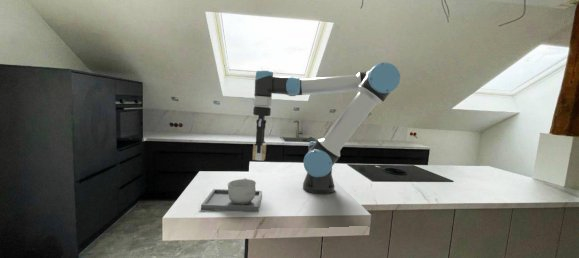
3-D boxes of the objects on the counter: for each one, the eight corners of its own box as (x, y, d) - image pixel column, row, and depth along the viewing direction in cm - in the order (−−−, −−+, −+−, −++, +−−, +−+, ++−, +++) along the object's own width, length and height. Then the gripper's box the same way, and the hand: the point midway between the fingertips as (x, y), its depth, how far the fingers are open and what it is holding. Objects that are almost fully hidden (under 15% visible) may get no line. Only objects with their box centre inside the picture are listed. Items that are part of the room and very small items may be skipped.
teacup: (249, 208, 97) (250, 187, 97) (222, 205, 99) (222, 184, 99) (260, 196, 111) (261, 178, 110) (236, 193, 113) (237, 175, 112)
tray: (261, 194, 114) (262, 190, 114) (258, 211, 97) (258, 206, 96) (213, 193, 114) (213, 189, 113) (200, 209, 96) (201, 204, 96)
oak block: (254, 157, 119) (255, 142, 119) (265, 158, 119) (266, 143, 118) (252, 159, 114) (253, 144, 114) (263, 160, 114) (264, 145, 113)
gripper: (256, 105, 123) (253, 154, 126) (250, 106, 105) (247, 162, 108) (272, 106, 124) (269, 155, 126) (269, 107, 105) (265, 163, 108)
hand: (259, 158), depth 117 cm, fingers closed on oak block, 5 cm apart
